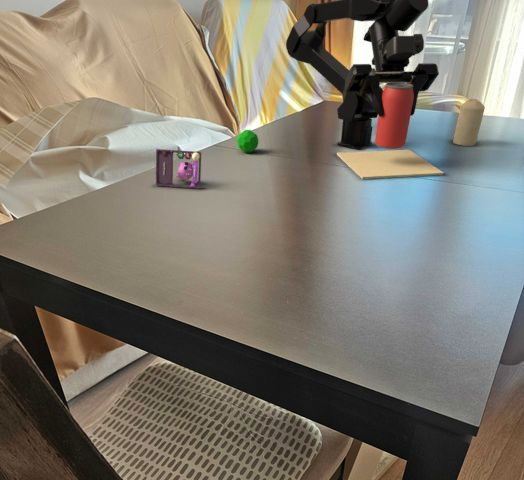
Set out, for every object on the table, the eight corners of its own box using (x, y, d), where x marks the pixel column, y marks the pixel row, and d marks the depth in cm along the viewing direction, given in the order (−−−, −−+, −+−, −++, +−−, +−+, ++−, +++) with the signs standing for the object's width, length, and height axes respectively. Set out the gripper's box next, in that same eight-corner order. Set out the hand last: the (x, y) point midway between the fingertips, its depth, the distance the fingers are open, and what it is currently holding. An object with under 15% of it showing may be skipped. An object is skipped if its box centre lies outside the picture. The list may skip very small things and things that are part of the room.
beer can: (404, 142, 113) (415, 82, 105) (405, 151, 107) (416, 88, 100) (374, 140, 114) (383, 81, 106) (374, 148, 108) (382, 86, 101)
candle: (477, 146, 125) (488, 102, 119) (454, 145, 126) (463, 101, 120) (474, 141, 129) (484, 98, 123) (451, 139, 130) (461, 97, 124)
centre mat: (336, 154, 118) (336, 152, 118) (408, 151, 121) (409, 149, 121) (362, 179, 104) (362, 176, 104) (443, 175, 107) (444, 172, 107)
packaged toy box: (154, 148, 97) (199, 151, 96) (164, 151, 102) (207, 153, 101) (154, 185, 99) (198, 188, 98) (164, 185, 104) (206, 189, 103)
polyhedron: (235, 149, 121) (234, 128, 118) (254, 148, 122) (254, 127, 120) (240, 155, 117) (240, 133, 115) (260, 153, 119) (261, 132, 116)
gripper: (356, 17, 98) (367, 91, 96) (445, 17, 101) (458, 89, 99) (339, 57, 109) (349, 124, 107) (420, 56, 112) (432, 122, 110)
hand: (397, 115), depth 105 cm, fingers closed on beer can, 6 cm apart
